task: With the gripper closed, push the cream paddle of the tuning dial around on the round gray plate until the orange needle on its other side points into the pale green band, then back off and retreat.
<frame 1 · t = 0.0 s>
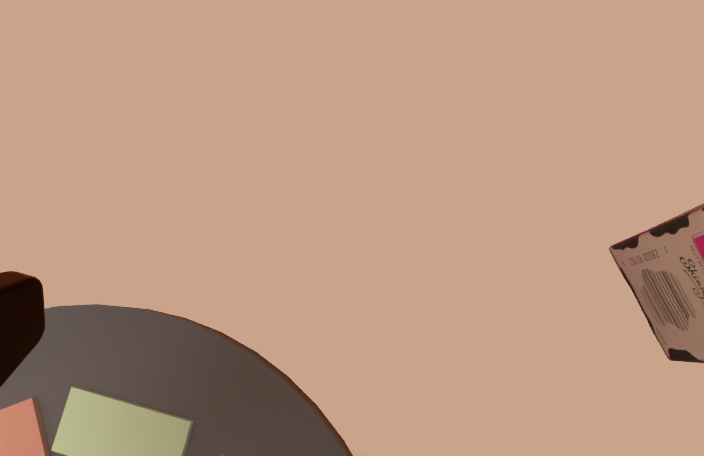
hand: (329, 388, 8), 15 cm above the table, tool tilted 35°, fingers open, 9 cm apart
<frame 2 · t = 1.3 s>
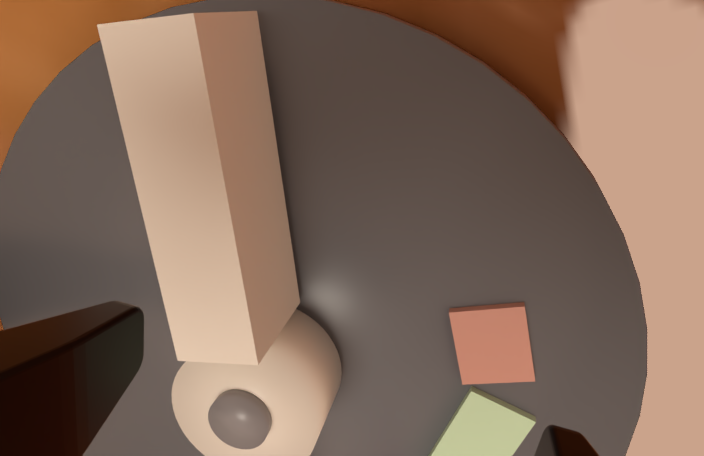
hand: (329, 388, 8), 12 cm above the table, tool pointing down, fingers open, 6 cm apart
round gray plate: (290, 339, 22), on the table
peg: (252, 375, 19), point 3 cm above the table, hinge at 0.0°
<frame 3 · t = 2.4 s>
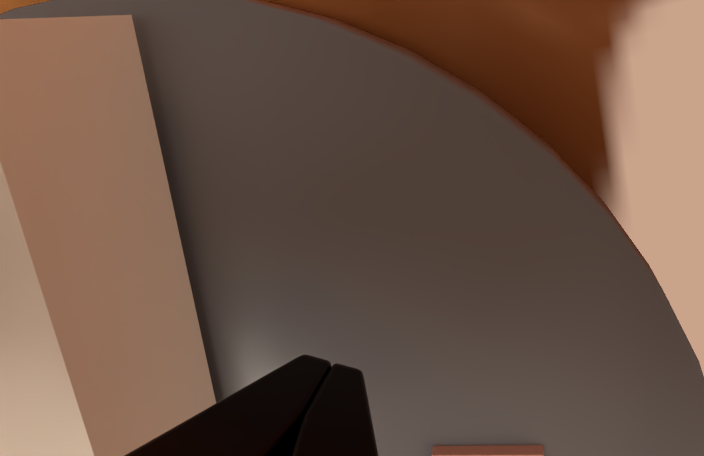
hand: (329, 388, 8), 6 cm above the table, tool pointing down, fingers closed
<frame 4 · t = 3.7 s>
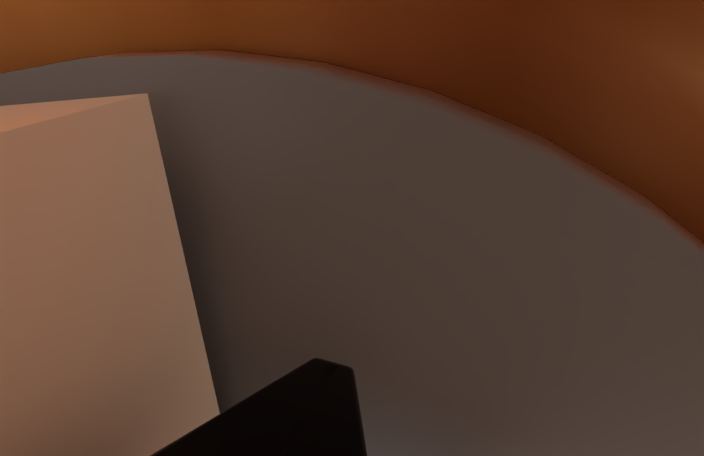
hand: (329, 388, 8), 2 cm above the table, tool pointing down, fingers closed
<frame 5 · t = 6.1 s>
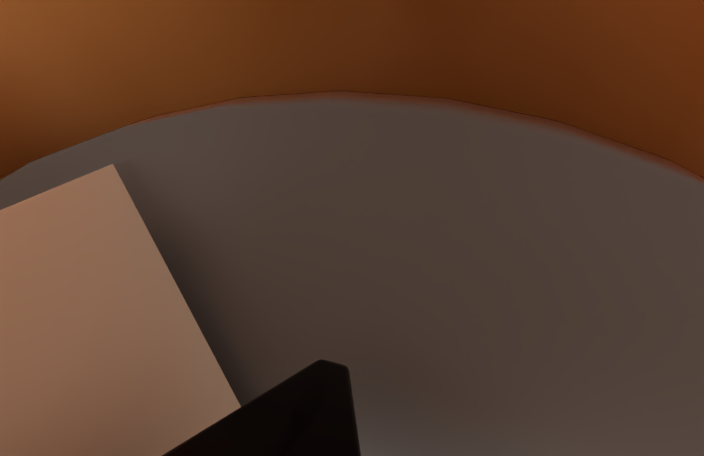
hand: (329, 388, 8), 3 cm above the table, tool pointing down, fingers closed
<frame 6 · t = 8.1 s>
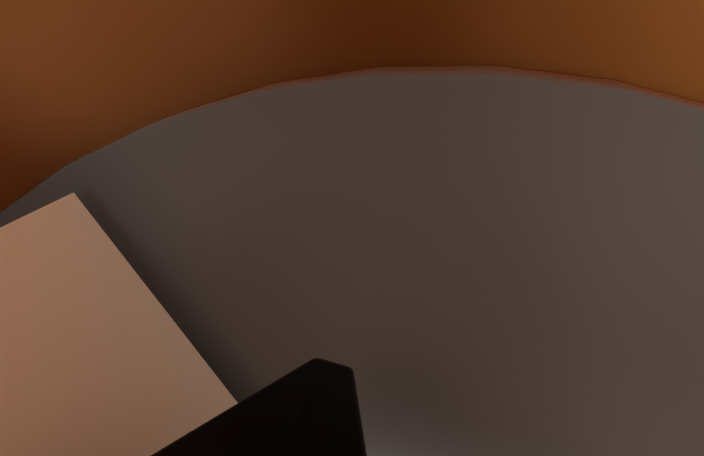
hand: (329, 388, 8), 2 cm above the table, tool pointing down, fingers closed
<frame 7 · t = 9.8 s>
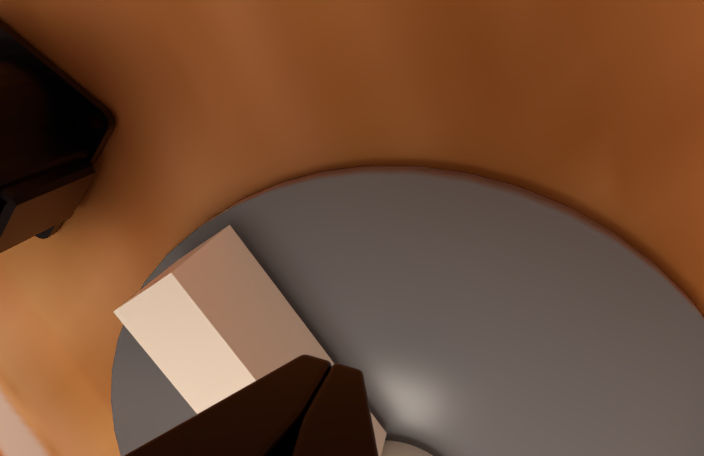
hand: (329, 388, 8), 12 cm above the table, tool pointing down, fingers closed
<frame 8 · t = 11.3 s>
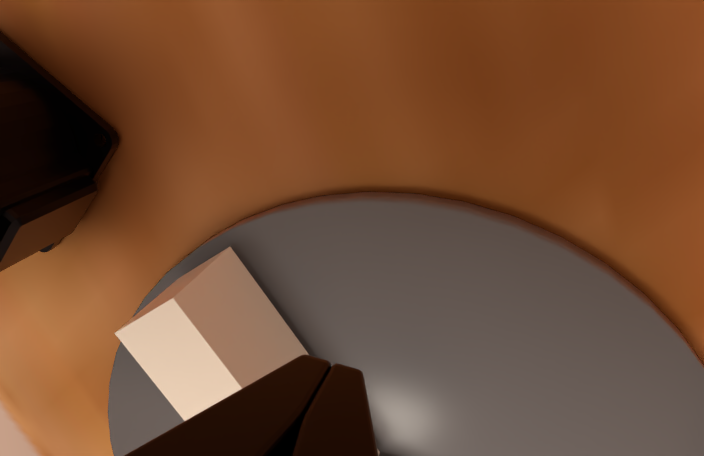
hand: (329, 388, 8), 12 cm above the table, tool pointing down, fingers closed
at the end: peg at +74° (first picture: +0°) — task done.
